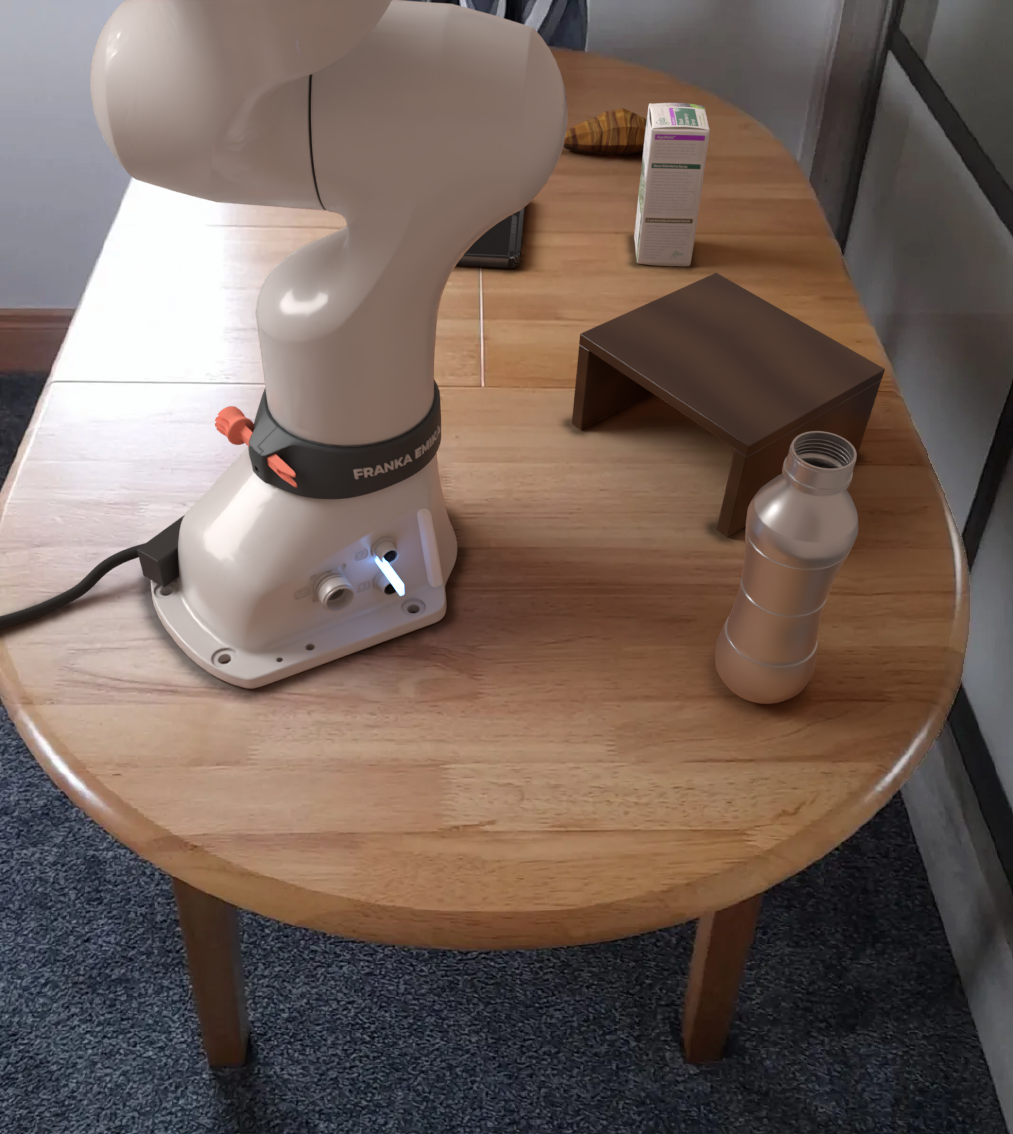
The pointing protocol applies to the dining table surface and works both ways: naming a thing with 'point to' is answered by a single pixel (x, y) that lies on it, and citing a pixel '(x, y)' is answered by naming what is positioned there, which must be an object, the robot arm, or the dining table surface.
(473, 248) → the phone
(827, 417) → the shelf
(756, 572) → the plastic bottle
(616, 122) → the croissant
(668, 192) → the syrup box
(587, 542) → the dining table surface
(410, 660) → the dining table surface
